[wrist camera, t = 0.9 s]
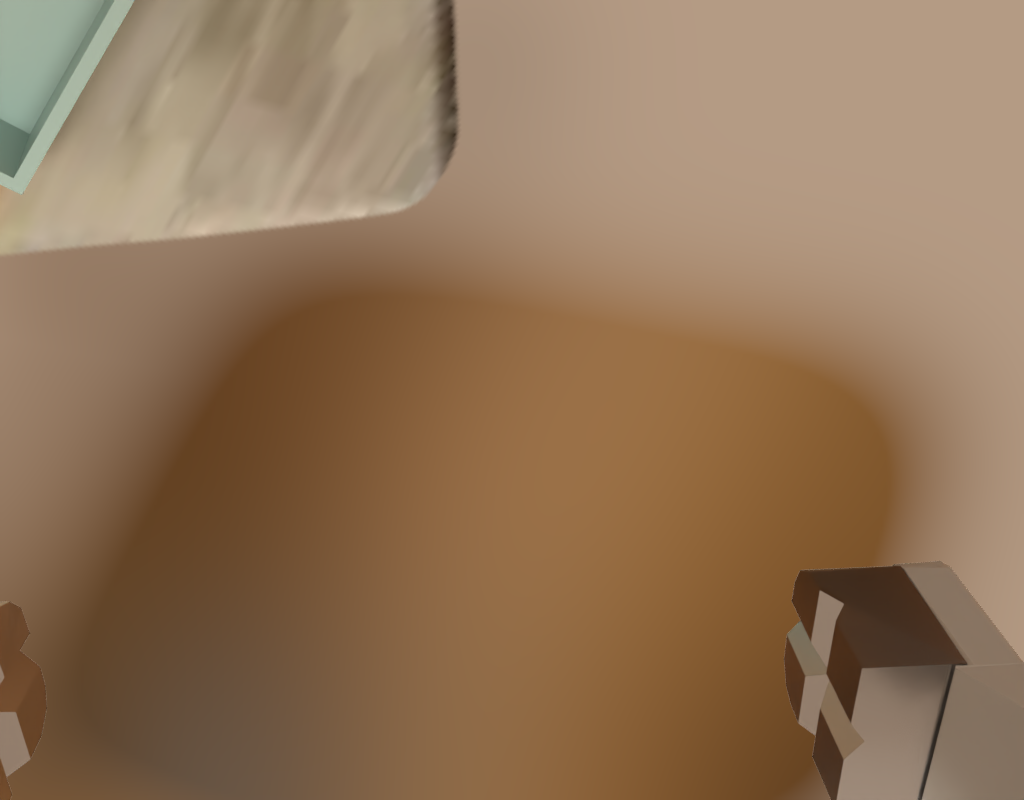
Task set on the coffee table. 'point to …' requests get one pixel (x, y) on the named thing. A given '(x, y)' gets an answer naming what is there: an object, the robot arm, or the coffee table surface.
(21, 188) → the tray
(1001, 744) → the robot arm
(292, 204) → the coffee table surface
